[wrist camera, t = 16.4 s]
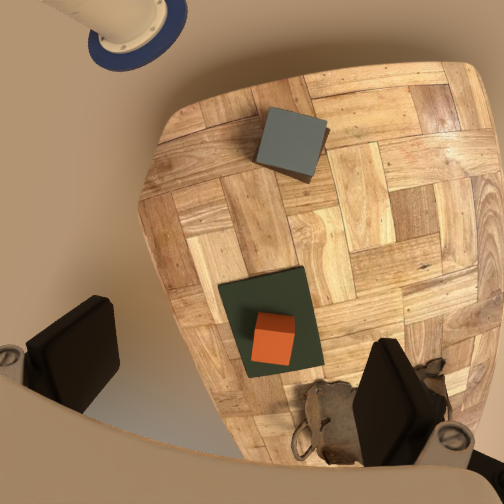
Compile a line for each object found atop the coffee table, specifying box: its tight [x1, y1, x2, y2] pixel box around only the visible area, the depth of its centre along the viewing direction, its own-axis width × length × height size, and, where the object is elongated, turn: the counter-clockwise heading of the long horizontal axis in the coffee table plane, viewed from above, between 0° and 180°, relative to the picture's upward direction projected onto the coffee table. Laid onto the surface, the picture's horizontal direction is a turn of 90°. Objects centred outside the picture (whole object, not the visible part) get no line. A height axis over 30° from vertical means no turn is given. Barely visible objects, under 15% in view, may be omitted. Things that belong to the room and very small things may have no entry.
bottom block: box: [252, 127, 330, 184], centre depth 34 cm, size 7×7×4 cm
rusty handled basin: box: [291, 358, 452, 465], centre depth 40 cm, size 20×28×10 cm
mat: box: [218, 266, 325, 378], centre depth 42 cm, size 16×12×1 cm
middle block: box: [256, 107, 327, 176], centre depth 31 cm, size 6×6×4 cm
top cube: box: [251, 312, 295, 365], centre depth 40 cm, size 5×5×5 cm
